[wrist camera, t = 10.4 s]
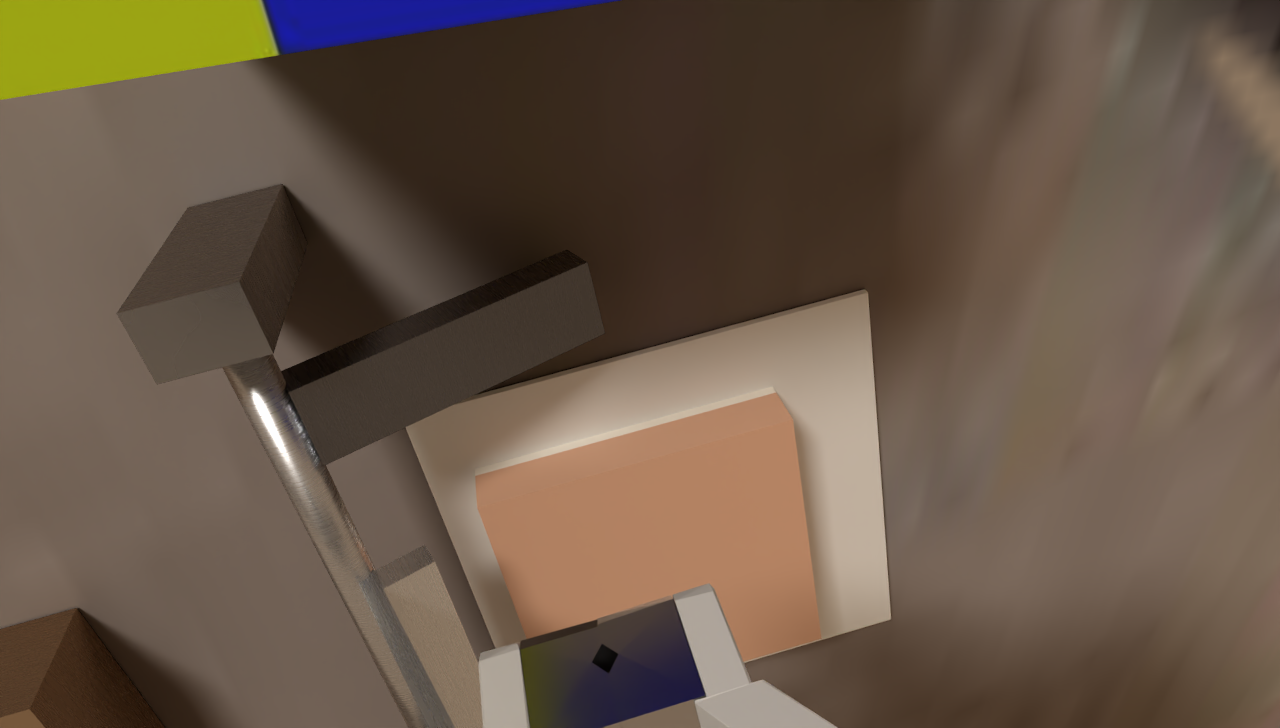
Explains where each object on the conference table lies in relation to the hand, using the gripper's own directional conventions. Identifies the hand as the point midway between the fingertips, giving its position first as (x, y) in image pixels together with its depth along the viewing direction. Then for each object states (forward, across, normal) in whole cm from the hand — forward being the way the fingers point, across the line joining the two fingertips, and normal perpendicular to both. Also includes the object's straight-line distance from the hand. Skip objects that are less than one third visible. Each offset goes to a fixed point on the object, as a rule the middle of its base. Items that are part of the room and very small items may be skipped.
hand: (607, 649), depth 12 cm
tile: (+10, -2, +9) cm, 13 cm away
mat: (+11, -2, +9) cm, 15 cm away
